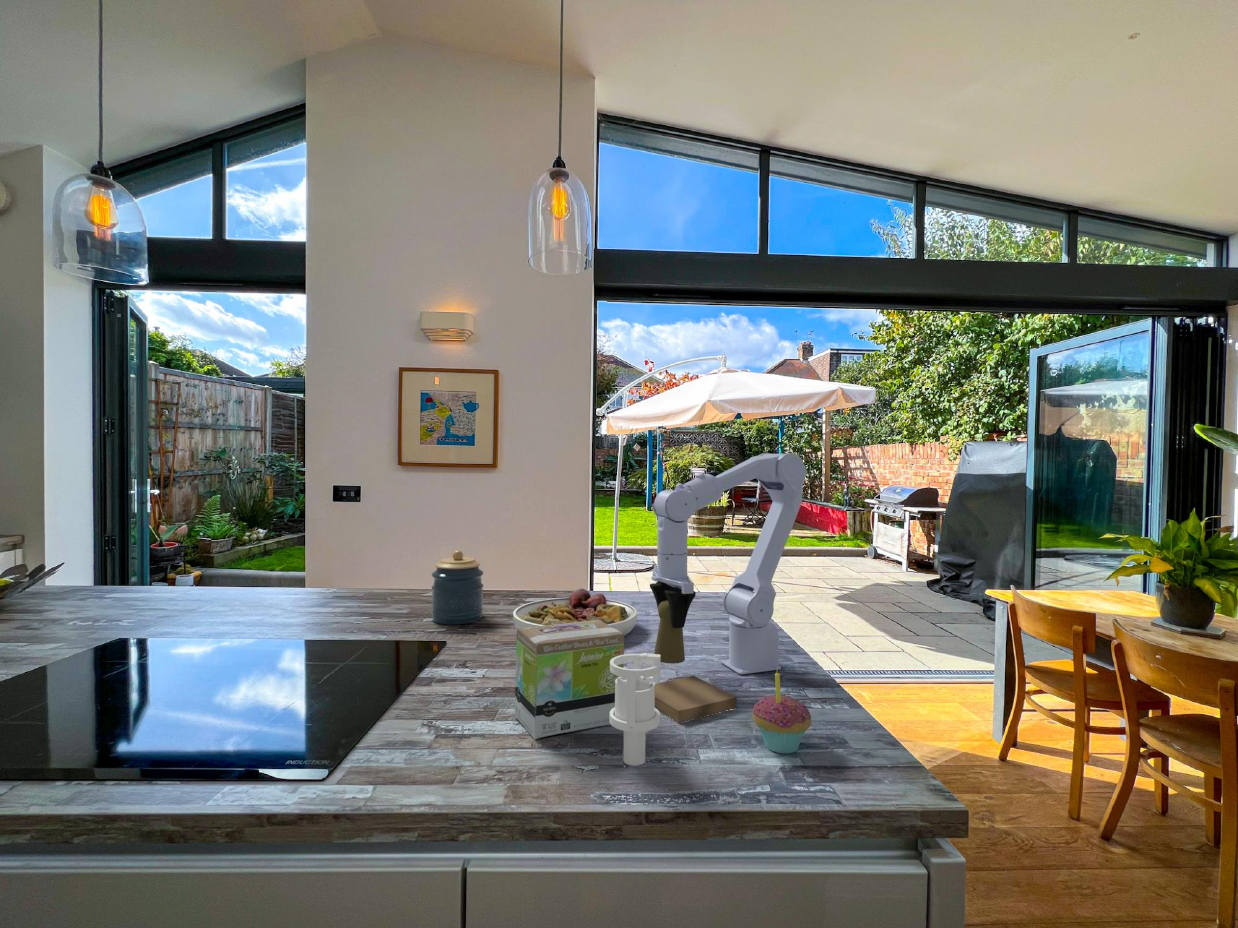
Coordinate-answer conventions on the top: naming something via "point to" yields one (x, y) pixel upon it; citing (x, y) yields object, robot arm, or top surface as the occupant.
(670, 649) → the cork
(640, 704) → the white stepped hollow cylinder
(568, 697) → the tea box
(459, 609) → the canister
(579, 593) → the bowl
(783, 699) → the cupcake
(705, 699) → the walnut board
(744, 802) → the top surface
